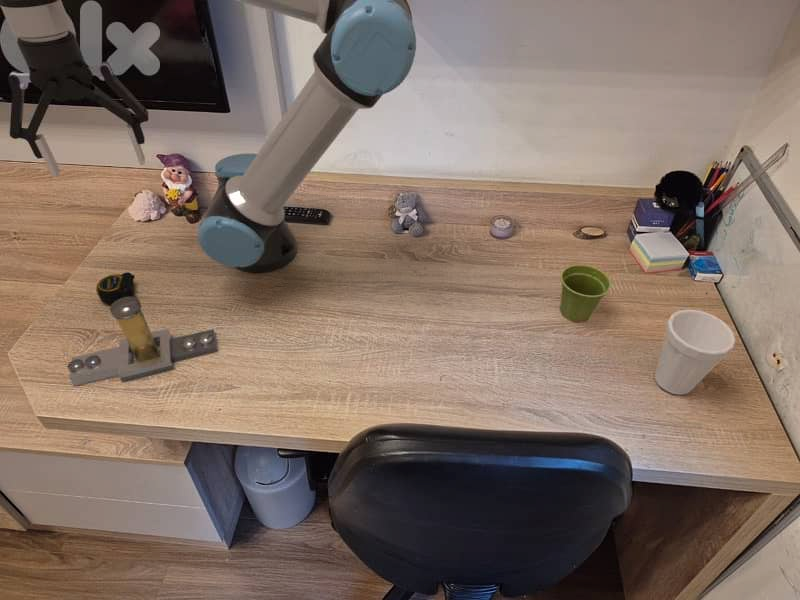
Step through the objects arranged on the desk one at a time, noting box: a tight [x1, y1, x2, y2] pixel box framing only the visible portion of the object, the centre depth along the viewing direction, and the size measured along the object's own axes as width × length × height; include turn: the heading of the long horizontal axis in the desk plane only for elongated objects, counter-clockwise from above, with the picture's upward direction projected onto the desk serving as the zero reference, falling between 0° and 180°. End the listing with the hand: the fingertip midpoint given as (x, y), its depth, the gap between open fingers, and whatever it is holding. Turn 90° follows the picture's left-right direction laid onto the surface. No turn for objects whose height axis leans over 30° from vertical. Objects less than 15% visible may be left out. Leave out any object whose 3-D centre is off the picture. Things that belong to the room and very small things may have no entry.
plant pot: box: [559, 263, 612, 323], centre depth 103 cm, size 9×9×9 cm
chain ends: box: [67, 328, 218, 387], centre depth 95 cm, size 24×9×3 cm, turn 110°
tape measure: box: [95, 272, 136, 305], centre depth 107 cm, size 7×7×4 cm
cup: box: [654, 309, 736, 396], centre depth 88 cm, size 10×10×13 cm
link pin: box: [109, 296, 161, 363], centre depth 92 cm, size 5×5×13 cm
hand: (100, 167), depth 90 cm, fingers open, 13 cm apart
